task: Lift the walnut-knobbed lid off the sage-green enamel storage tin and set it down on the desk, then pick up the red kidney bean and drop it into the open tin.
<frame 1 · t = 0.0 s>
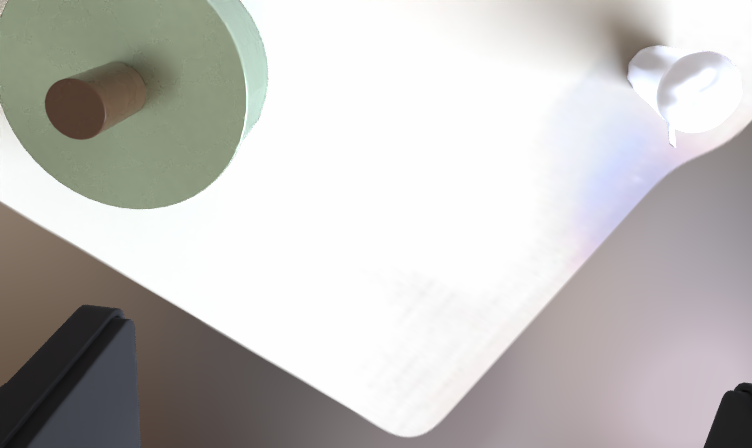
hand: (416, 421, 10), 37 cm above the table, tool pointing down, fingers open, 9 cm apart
milkshake: (645, 74, 44), on the table
tin: (168, 67, 46), on the table
tin lid: (124, 87, 39), point 7 cm above the table, touching tin
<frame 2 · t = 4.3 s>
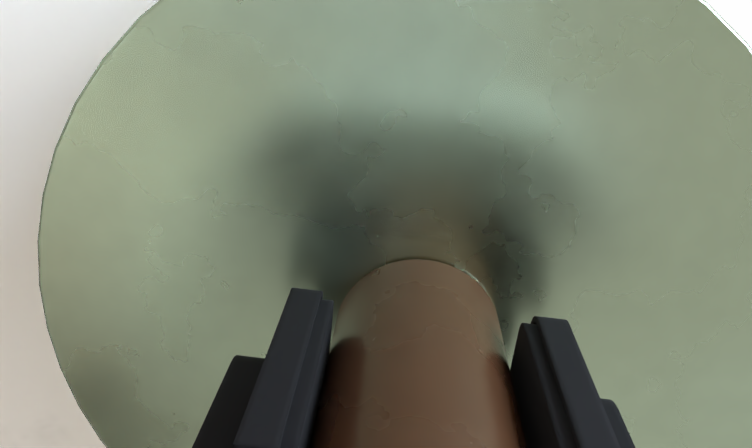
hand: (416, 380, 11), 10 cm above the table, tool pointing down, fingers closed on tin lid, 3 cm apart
tin lid: (416, 315, 13), point 8 cm above the table, touching gripper, tin
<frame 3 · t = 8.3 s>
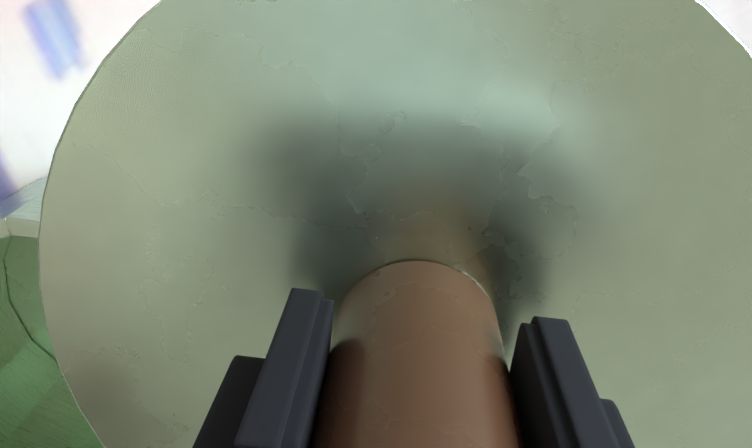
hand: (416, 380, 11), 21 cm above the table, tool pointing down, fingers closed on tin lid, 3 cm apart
tin: (126, 289, 35), on the table
tin lid: (416, 316, 13), point 19 cm above the table, touching gripper
when the fingers open (3 cm above the table, at t = 12.4 s): tin lid stays where it is, point 1 cm above the table.
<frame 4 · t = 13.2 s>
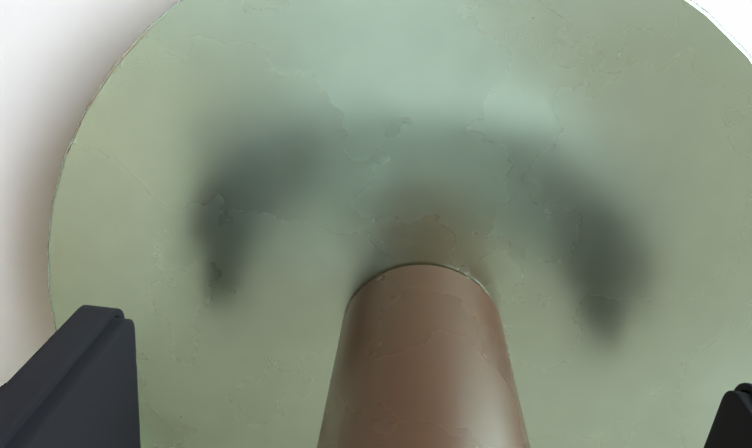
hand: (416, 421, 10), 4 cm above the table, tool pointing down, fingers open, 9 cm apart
tin lid: (421, 319, 14), point 1 cm above the table
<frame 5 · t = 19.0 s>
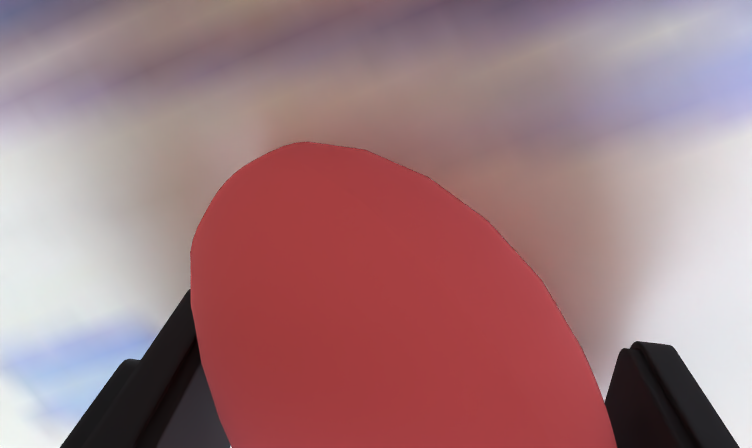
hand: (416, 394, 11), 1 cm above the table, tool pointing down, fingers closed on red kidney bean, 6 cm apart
red kidney bean: (421, 356, 12), on the table, touching gripper
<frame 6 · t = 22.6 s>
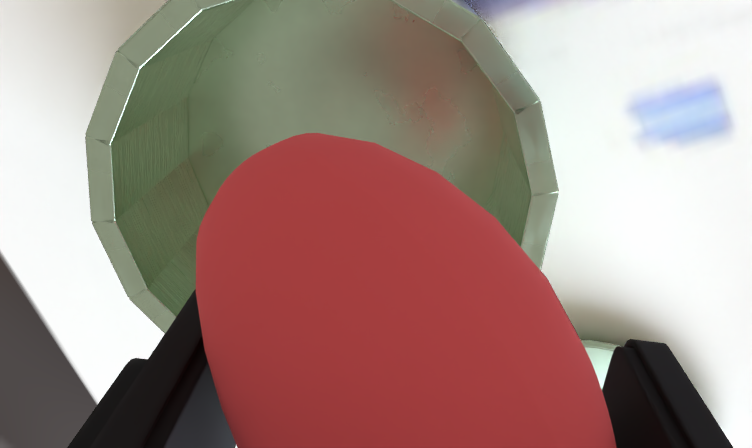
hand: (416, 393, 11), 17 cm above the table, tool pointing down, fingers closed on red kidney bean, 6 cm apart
tin: (343, 142, 27), on the table
red kidney bean: (420, 353, 12), point 16 cm above the table, touching gripper
when the fingers open (5 cm above the table, at t = 26.2 s): red kidney bean drops 4 cm, resting on tin.
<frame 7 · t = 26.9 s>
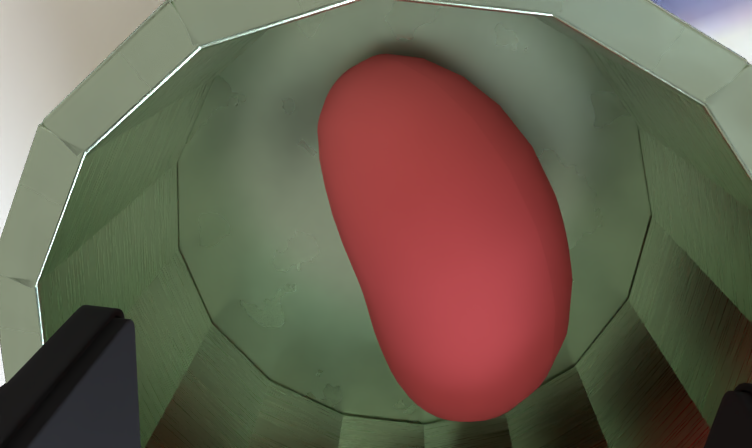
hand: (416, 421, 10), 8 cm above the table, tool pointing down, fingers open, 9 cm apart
tin: (408, 225, 18), on the table
red kidney bean: (443, 218, 18), resting on tin
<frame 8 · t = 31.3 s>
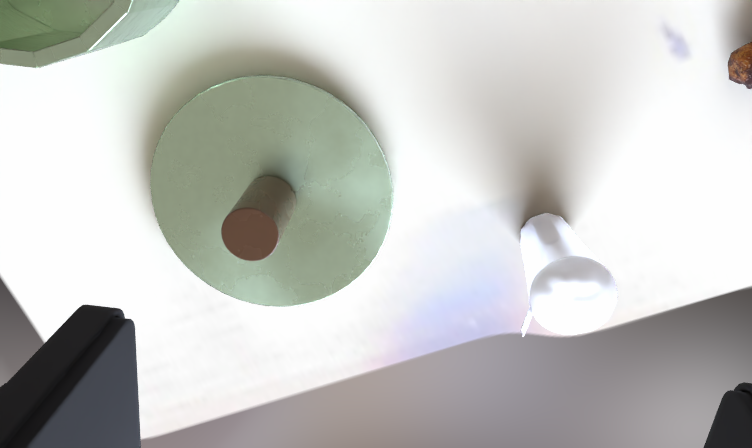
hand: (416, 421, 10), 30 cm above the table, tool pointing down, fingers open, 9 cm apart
milkshake: (538, 236, 42), on the table
tin lid: (272, 196, 41), point 1 cm above the table
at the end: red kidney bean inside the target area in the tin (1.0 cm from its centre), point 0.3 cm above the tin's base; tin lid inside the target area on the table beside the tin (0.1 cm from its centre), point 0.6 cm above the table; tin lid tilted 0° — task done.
